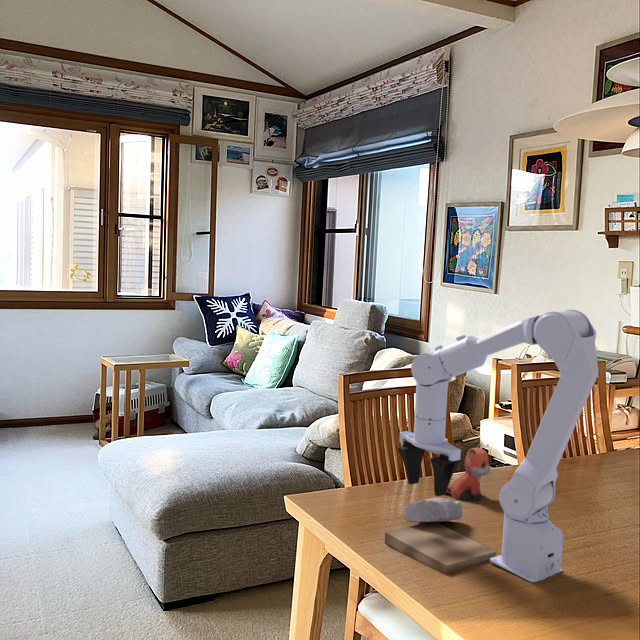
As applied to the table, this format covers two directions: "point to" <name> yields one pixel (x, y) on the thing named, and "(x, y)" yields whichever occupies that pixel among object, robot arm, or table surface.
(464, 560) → the walnut base
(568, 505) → the table surface
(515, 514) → the robot arm
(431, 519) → the stone block
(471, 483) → the stuffed fox
